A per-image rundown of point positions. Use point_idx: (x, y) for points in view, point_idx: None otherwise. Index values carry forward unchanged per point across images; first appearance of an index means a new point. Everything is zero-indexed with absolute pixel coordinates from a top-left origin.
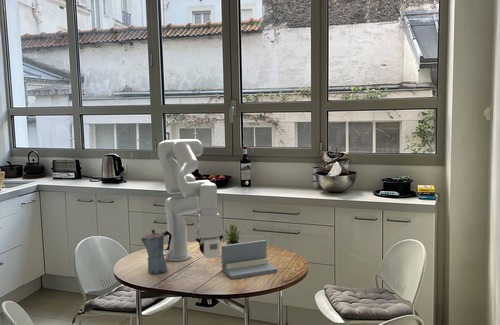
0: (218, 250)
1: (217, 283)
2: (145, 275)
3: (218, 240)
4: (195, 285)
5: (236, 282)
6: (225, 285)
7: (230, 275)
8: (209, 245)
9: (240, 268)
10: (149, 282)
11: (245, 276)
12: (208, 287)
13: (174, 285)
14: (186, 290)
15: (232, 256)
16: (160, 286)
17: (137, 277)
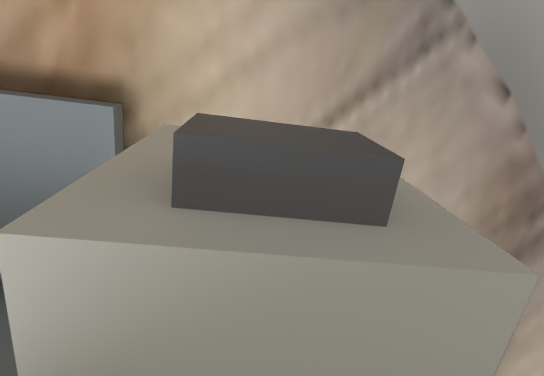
0: (166, 149)
1: (240, 79)
2: (501, 373)
3: (38, 316)
4: (377, 124)
5: (105, 18)
6: (203, 5)
7: (115, 126)
8: (385, 217)
9: (4, 214)
10: (540, 288)
11: (4, 90)
12: (325, 39)
13: (472, 188)
14: (464, 70)
15: (1, 331)
16: (535, 212)
17: (541, 365)
